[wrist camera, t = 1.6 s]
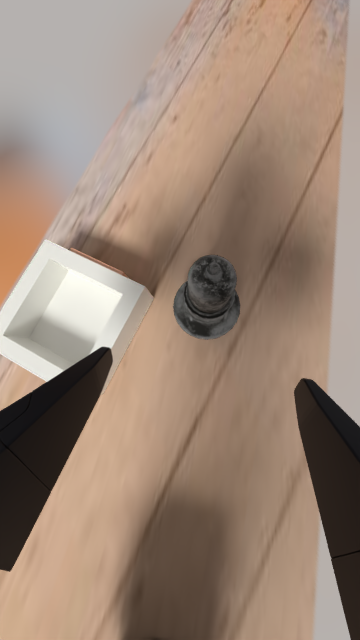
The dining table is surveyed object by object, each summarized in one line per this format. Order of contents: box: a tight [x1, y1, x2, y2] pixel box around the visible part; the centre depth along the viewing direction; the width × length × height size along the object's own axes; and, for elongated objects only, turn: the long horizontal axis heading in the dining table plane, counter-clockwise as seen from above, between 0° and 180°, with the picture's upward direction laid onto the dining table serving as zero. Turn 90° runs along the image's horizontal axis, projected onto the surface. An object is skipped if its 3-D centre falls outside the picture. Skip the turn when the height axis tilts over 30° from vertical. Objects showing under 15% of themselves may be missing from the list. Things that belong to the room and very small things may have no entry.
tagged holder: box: [0, 239, 154, 395], centre depth 21 cm, size 11×12×4 cm
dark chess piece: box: [173, 255, 240, 340], centre depth 16 cm, size 6×6×12 cm
